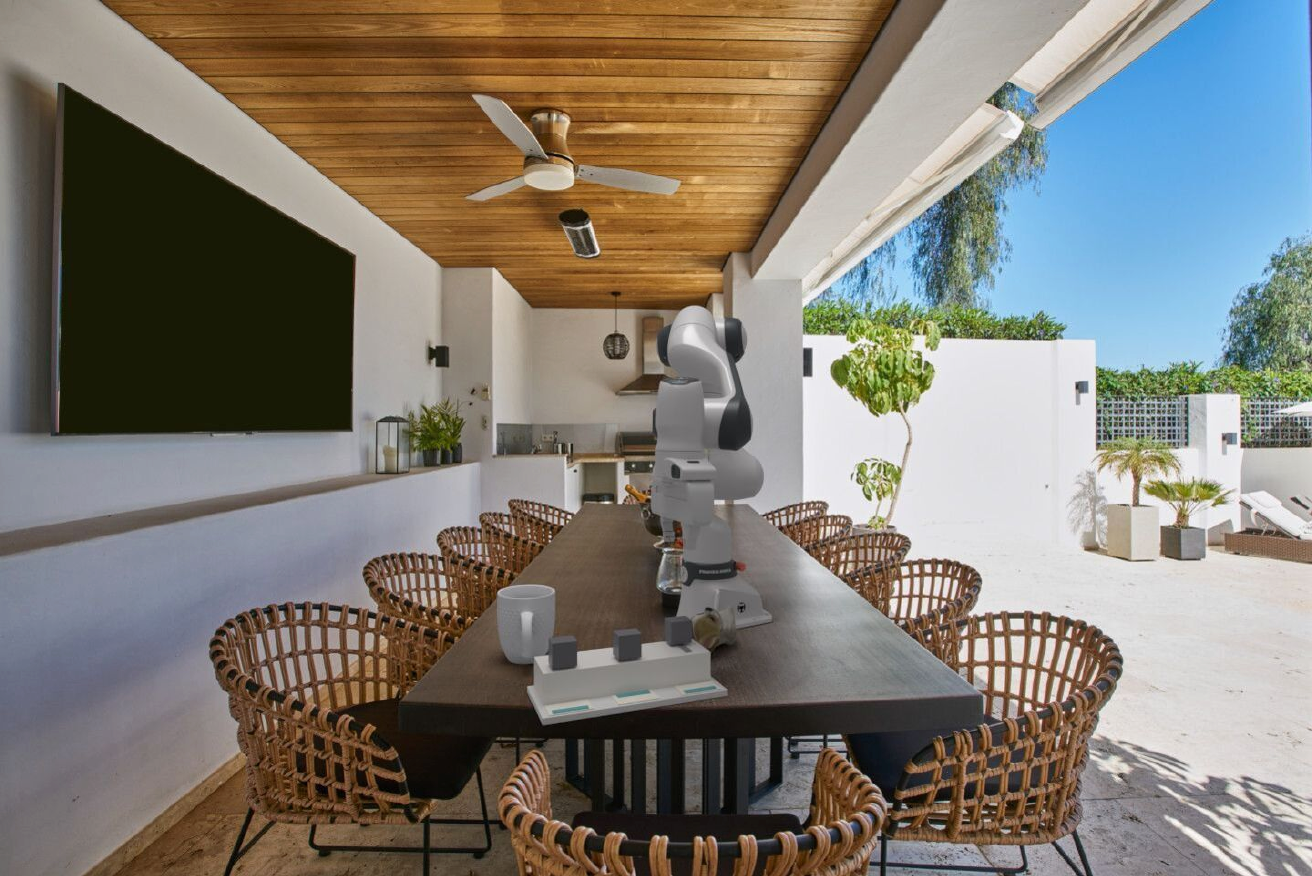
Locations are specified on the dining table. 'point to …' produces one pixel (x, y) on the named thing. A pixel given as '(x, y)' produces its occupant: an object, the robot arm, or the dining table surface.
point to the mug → (525, 621)
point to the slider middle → (627, 644)
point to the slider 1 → (562, 652)
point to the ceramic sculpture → (714, 628)
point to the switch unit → (622, 682)
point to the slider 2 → (678, 630)
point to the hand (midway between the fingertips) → (679, 545)
